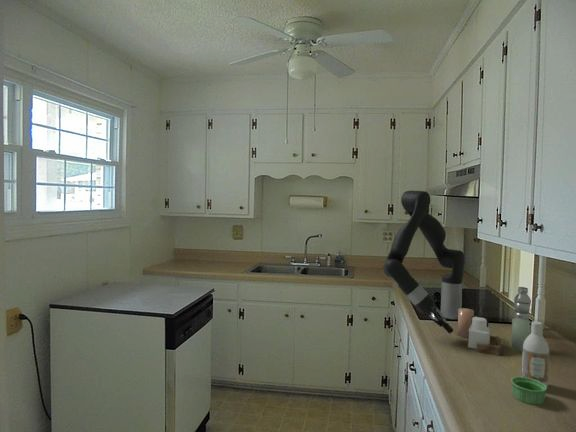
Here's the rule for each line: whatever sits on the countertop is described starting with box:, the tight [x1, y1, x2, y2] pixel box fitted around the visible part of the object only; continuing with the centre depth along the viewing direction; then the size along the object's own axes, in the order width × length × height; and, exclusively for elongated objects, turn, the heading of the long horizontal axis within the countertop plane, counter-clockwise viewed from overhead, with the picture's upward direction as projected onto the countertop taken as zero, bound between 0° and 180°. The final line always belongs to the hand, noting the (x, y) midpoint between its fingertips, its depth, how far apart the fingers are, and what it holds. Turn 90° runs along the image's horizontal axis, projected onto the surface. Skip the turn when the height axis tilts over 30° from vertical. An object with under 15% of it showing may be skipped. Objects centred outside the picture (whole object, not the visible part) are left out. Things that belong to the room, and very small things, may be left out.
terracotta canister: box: [456, 307, 475, 339], centre depth 167 cm, size 6×6×11 cm
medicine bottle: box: [467, 314, 491, 350], centre depth 155 cm, size 7×7×12 cm
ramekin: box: [510, 376, 548, 406], centre depth 115 cm, size 9×9×4 cm
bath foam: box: [521, 320, 550, 388], centre depth 123 cm, size 7×7×20 cm
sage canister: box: [510, 317, 531, 352], centre depth 154 cm, size 6×6×11 cm
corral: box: [476, 334, 504, 357], centre depth 154 cm, size 9×13×3 cm, turn 158°
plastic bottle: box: [513, 286, 532, 321], centre depth 171 cm, size 6×7×20 cm
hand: (451, 331), depth 159 cm, fingers closed
